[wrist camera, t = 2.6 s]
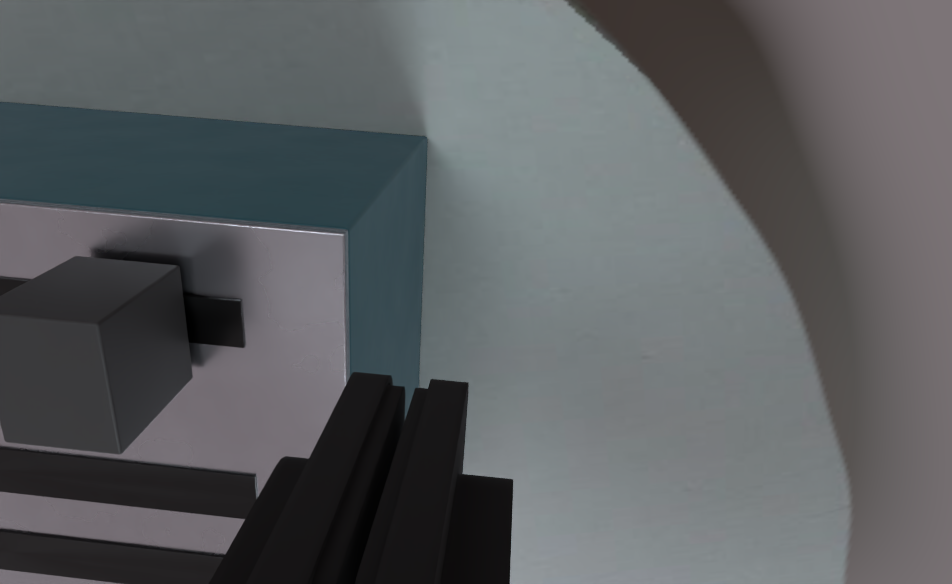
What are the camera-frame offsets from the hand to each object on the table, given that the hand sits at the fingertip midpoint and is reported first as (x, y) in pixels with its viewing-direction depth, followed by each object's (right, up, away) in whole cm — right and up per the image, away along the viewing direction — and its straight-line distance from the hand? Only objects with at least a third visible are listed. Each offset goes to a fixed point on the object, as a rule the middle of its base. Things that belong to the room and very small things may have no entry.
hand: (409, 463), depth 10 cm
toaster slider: (-5, +2, +3) cm, 7 cm away
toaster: (-9, +4, +14) cm, 17 cm away
